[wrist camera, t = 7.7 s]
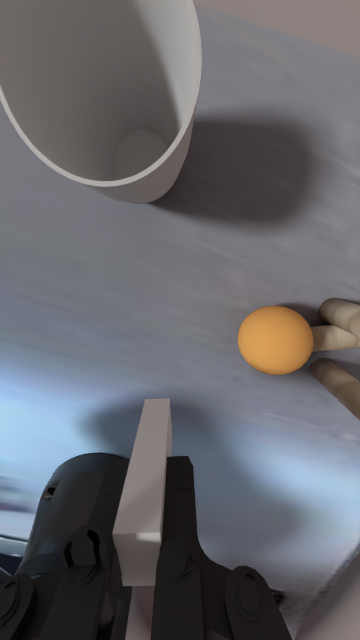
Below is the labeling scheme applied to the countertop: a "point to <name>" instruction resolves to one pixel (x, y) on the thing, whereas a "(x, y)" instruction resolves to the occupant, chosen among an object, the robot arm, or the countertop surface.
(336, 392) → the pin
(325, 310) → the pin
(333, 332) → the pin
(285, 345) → the ball
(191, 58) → the cup
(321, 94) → the countertop surface
